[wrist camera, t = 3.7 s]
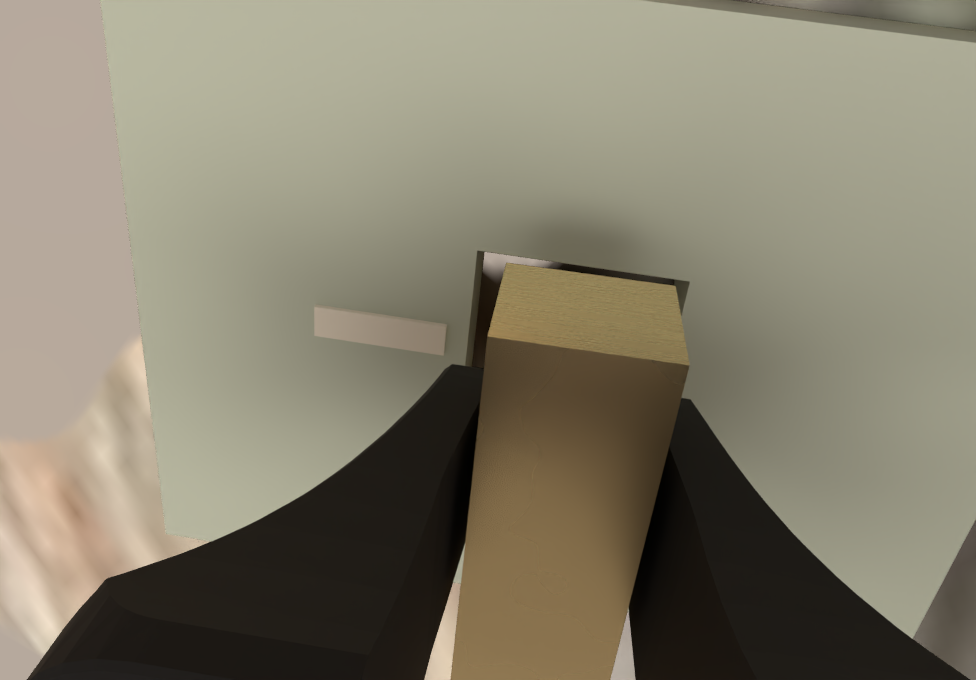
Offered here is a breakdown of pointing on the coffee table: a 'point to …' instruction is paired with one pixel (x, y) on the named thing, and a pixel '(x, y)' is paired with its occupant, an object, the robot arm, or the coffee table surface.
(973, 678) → the coffee table surface
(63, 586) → the coffee table surface
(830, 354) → the plate
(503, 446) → the t key
